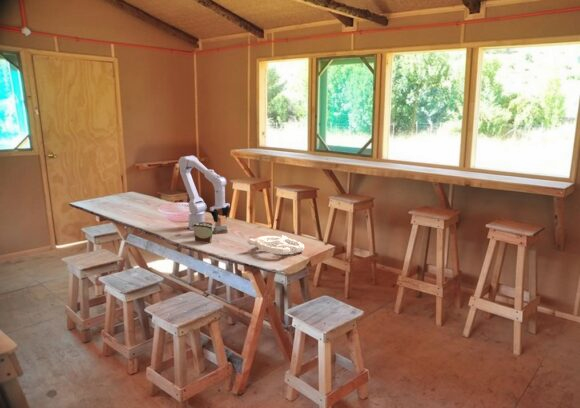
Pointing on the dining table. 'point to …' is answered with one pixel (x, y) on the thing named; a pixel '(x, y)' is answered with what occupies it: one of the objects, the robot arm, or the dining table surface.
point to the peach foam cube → (221, 220)
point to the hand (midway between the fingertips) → (220, 220)
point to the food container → (203, 232)
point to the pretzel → (277, 244)
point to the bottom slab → (220, 231)
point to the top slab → (221, 227)
